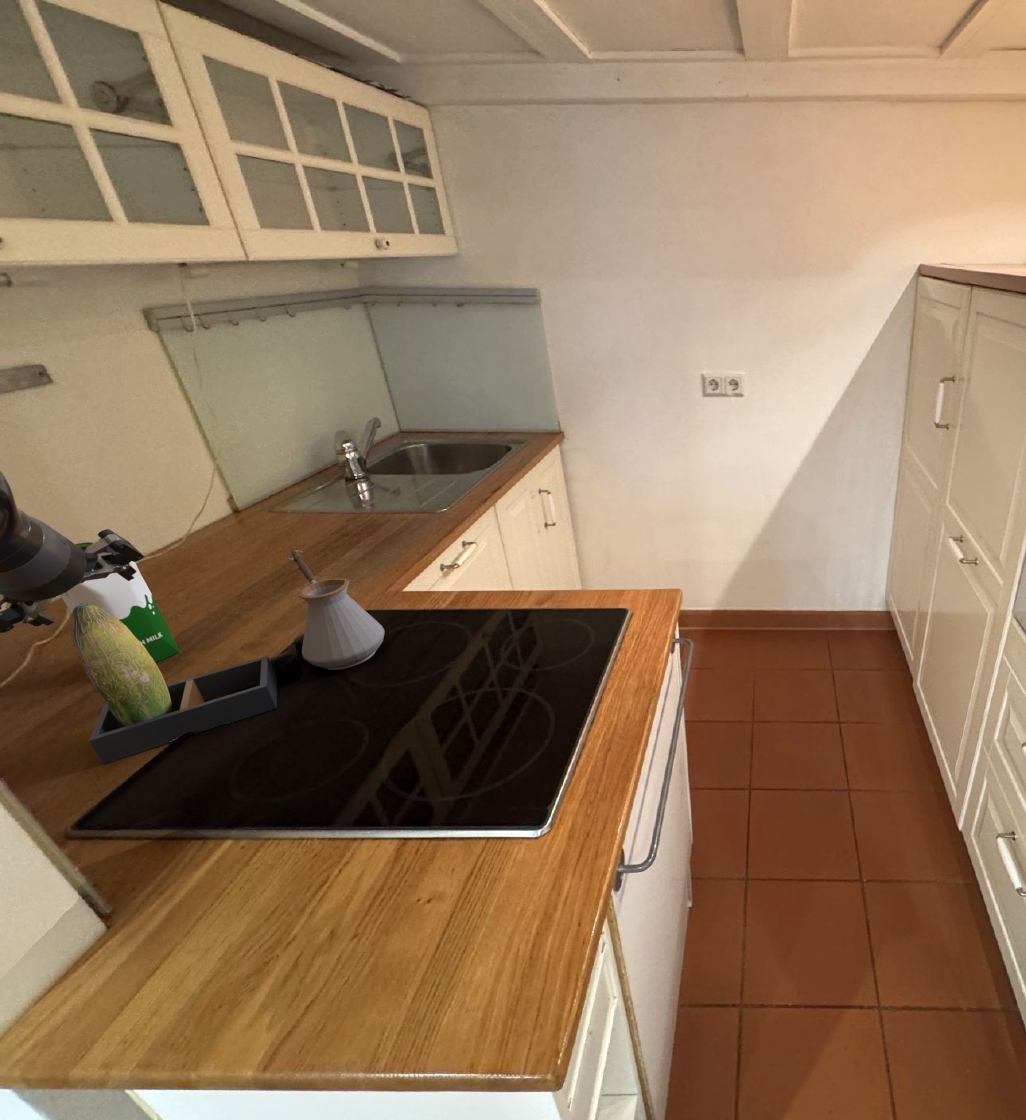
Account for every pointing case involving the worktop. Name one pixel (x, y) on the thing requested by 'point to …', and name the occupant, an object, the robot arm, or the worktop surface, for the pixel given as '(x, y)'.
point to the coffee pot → (335, 624)
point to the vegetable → (118, 666)
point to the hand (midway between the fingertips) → (86, 595)
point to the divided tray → (191, 709)
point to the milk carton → (127, 608)
